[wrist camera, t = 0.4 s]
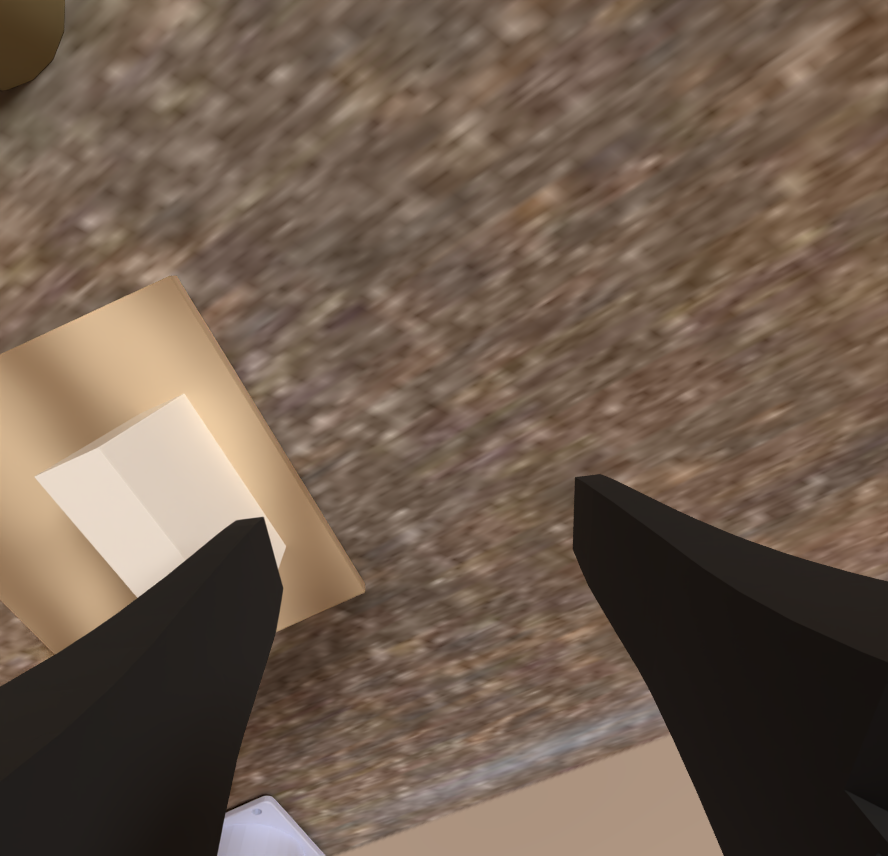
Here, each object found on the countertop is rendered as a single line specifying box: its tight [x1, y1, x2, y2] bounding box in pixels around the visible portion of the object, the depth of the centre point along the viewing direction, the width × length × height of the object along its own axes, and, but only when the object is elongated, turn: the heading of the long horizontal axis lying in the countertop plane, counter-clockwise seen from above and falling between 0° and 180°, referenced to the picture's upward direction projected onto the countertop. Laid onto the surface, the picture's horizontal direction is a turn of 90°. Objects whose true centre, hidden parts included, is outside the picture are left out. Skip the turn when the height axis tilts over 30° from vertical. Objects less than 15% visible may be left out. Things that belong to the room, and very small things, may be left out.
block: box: [35, 394, 286, 598], centre depth 17 cm, size 2×8×6 cm, turn 23°
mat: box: [0, 276, 365, 654], centre depth 20 cm, size 14×16×1 cm
